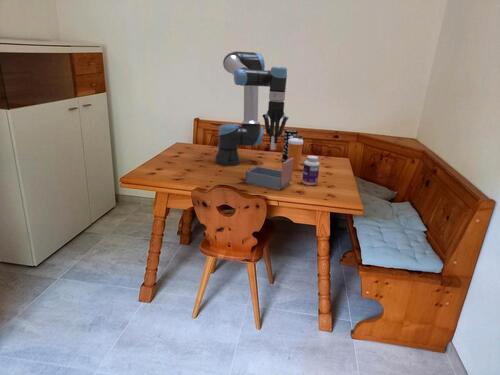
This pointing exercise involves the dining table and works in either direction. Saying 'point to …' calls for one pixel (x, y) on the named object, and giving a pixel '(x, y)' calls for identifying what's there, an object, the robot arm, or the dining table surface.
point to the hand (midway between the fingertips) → (272, 149)
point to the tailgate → (287, 172)
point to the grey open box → (264, 177)
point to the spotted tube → (285, 144)
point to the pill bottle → (311, 170)
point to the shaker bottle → (295, 150)
